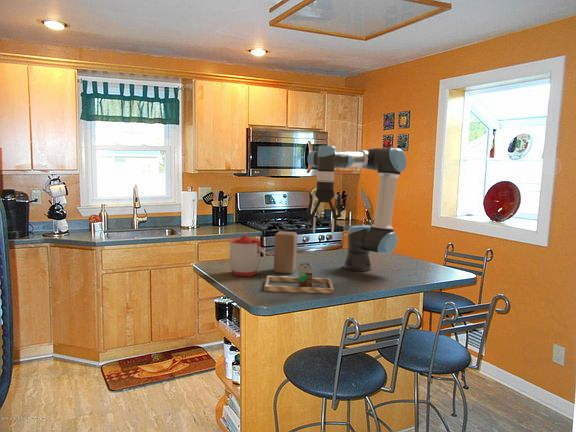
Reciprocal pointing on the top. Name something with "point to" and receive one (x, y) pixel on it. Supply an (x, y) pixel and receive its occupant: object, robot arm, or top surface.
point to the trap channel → (317, 287)
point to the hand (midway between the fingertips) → (323, 232)
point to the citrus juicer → (245, 255)
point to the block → (285, 252)
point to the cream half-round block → (305, 275)
